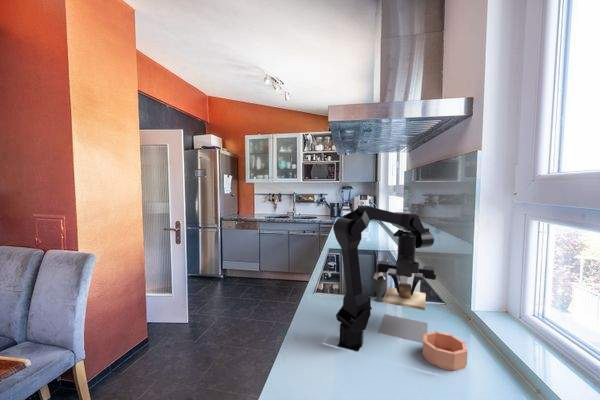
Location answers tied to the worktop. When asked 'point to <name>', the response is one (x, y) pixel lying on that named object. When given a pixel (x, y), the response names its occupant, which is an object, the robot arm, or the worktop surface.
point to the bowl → (444, 350)
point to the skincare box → (410, 282)
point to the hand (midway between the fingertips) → (404, 293)
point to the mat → (403, 328)
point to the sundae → (378, 284)
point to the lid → (405, 297)
